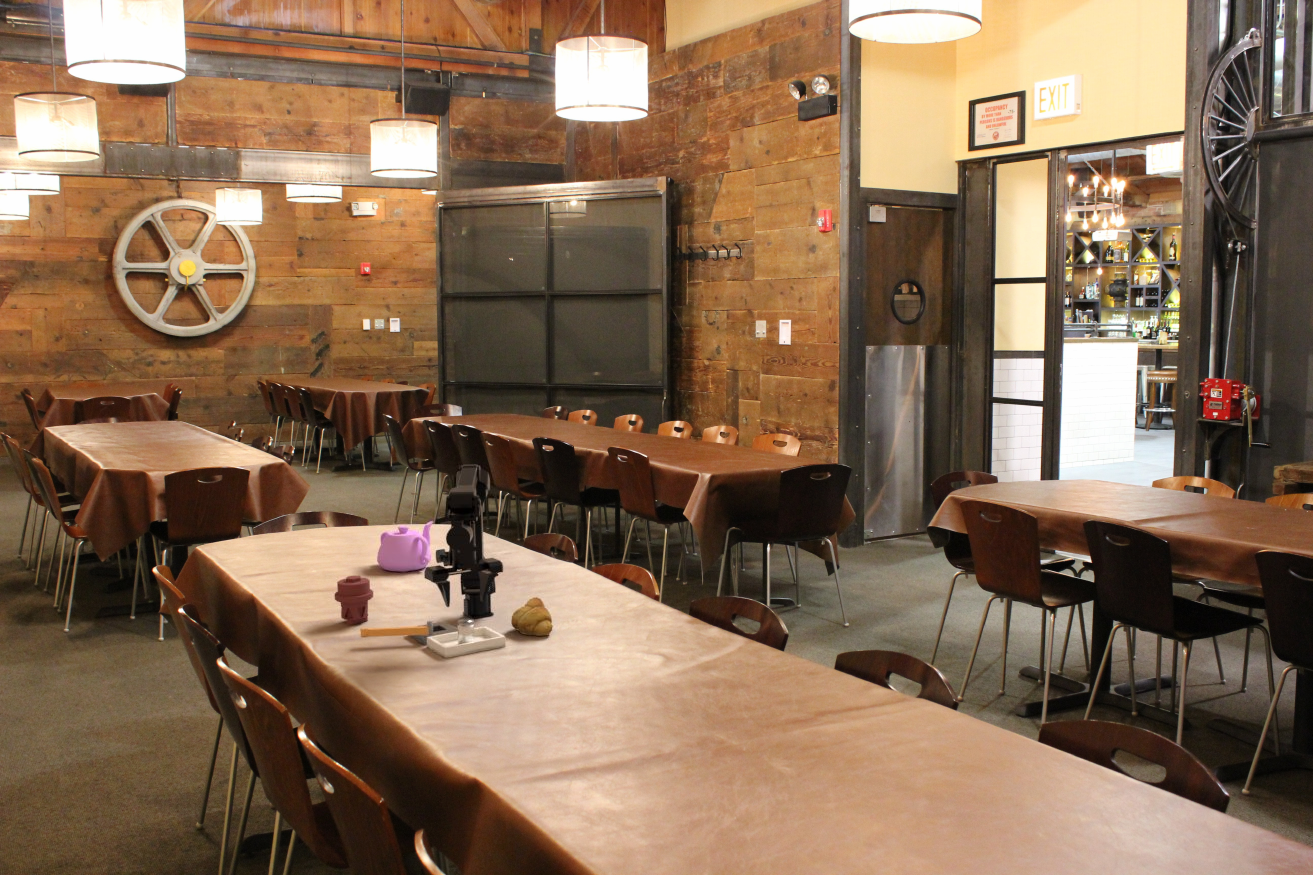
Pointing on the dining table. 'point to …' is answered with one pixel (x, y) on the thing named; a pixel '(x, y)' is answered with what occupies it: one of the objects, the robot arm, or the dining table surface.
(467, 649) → the tray
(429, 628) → the bar
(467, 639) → the salt shaker
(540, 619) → the bread roll
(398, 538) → the teapot
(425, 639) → the hitch block
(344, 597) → the mechanical component
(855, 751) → the dining table surface
